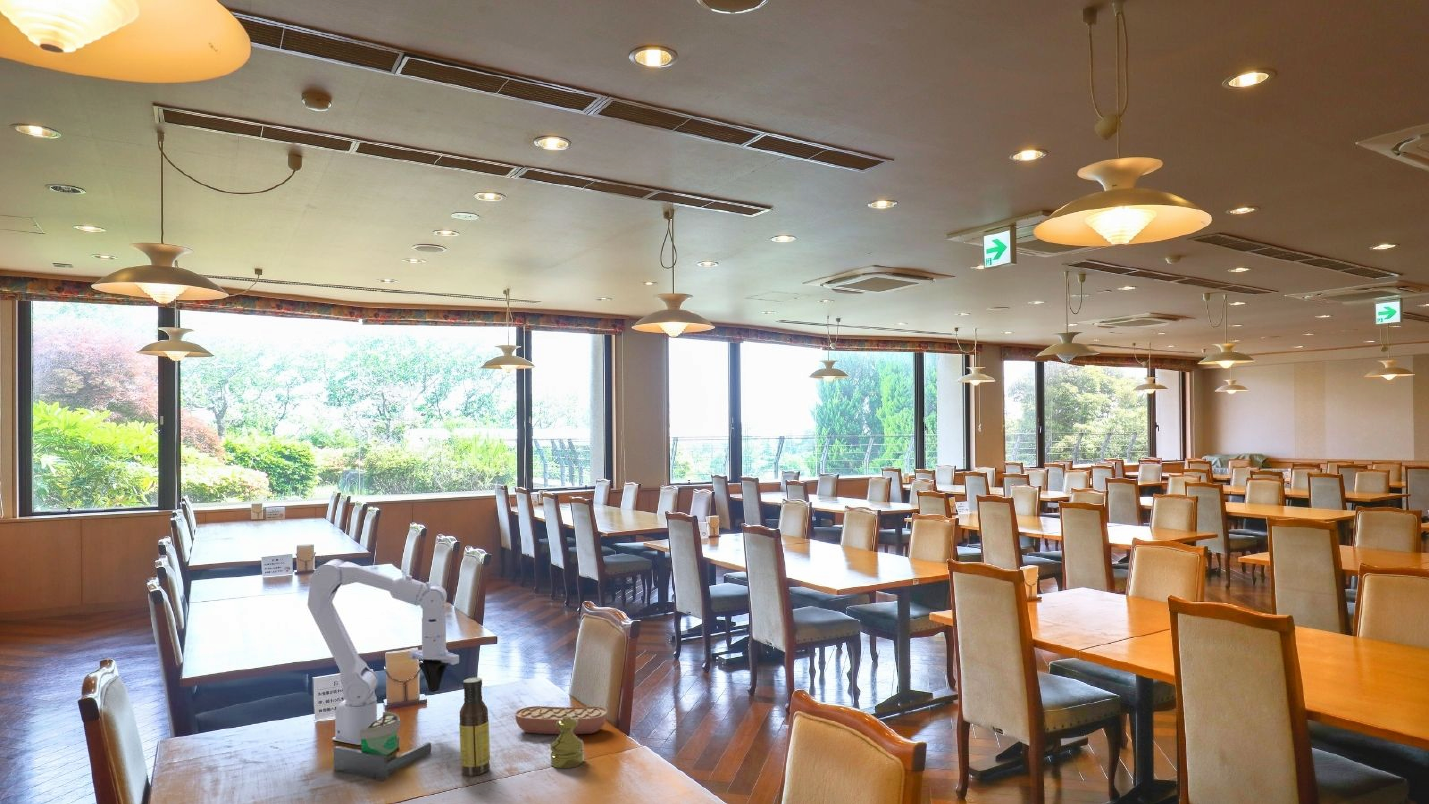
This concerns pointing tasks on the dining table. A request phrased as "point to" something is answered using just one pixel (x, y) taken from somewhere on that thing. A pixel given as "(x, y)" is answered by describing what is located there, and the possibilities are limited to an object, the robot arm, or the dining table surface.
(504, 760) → the dining table surface
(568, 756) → the olive rounded piece
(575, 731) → the terracotta bread basket
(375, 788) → the dining table surface
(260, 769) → the dining table surface
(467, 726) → the sauce bottle
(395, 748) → the food container
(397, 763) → the dock
